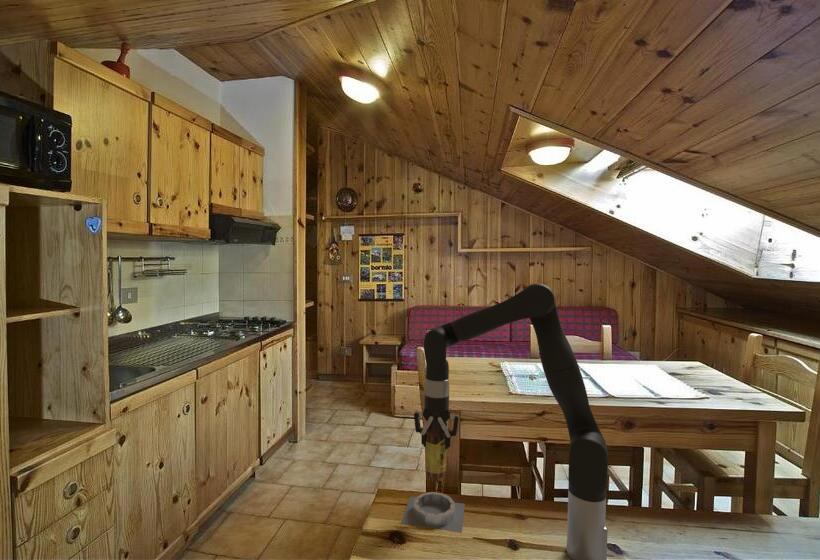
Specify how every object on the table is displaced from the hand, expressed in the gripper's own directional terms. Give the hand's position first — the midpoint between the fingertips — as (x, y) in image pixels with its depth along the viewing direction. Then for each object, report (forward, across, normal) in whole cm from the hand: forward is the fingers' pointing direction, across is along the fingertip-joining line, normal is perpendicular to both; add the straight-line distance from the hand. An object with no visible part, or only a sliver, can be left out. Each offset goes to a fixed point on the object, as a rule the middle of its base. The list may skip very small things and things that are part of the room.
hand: (435, 446), depth 120 cm
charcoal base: (+22, 0, 0) cm, 22 cm away
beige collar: (+21, 0, 0) cm, 21 cm away
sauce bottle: (+9, 0, 0) cm, 9 cm away
